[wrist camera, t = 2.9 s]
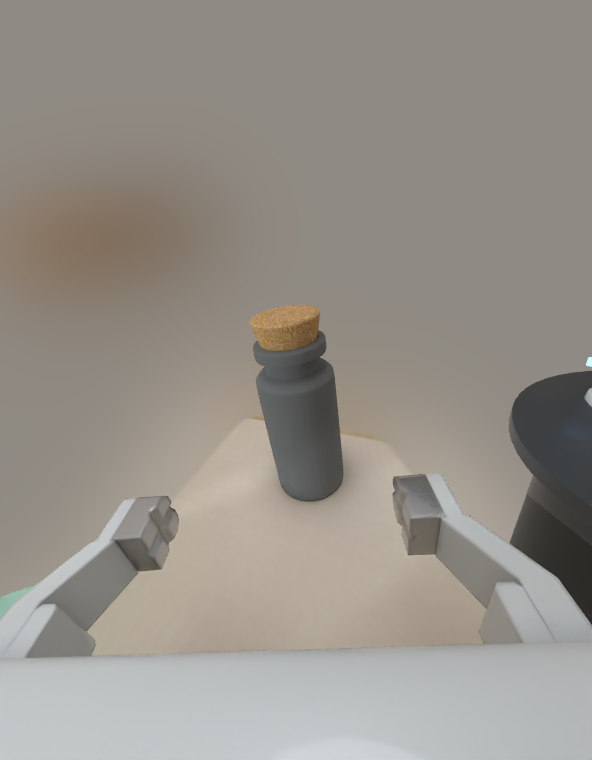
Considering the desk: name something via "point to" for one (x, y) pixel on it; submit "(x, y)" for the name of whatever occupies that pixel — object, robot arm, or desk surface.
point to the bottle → (298, 400)
